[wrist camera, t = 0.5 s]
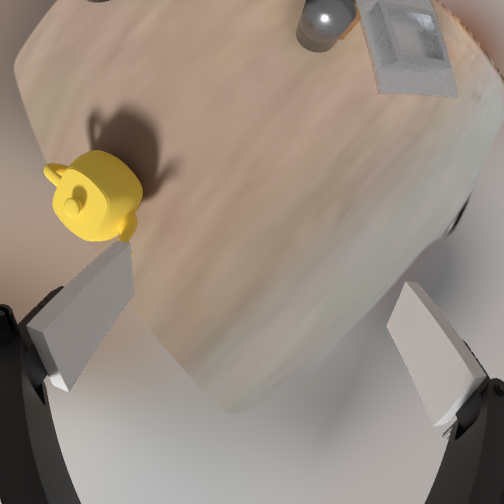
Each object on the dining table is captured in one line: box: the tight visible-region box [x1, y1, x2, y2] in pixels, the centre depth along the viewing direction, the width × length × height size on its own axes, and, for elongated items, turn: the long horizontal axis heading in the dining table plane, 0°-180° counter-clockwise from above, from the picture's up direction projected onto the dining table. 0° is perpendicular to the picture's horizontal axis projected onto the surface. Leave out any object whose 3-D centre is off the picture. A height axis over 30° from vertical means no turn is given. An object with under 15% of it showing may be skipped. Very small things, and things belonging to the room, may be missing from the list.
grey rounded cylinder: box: [296, 0, 361, 52], centre depth 23 cm, size 5×6×10 cm
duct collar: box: [353, 0, 458, 98], centre depth 24 cm, size 18×14×4 cm
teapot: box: [44, 150, 143, 256], centre depth 32 cm, size 18×11×11 cm, turn 49°
